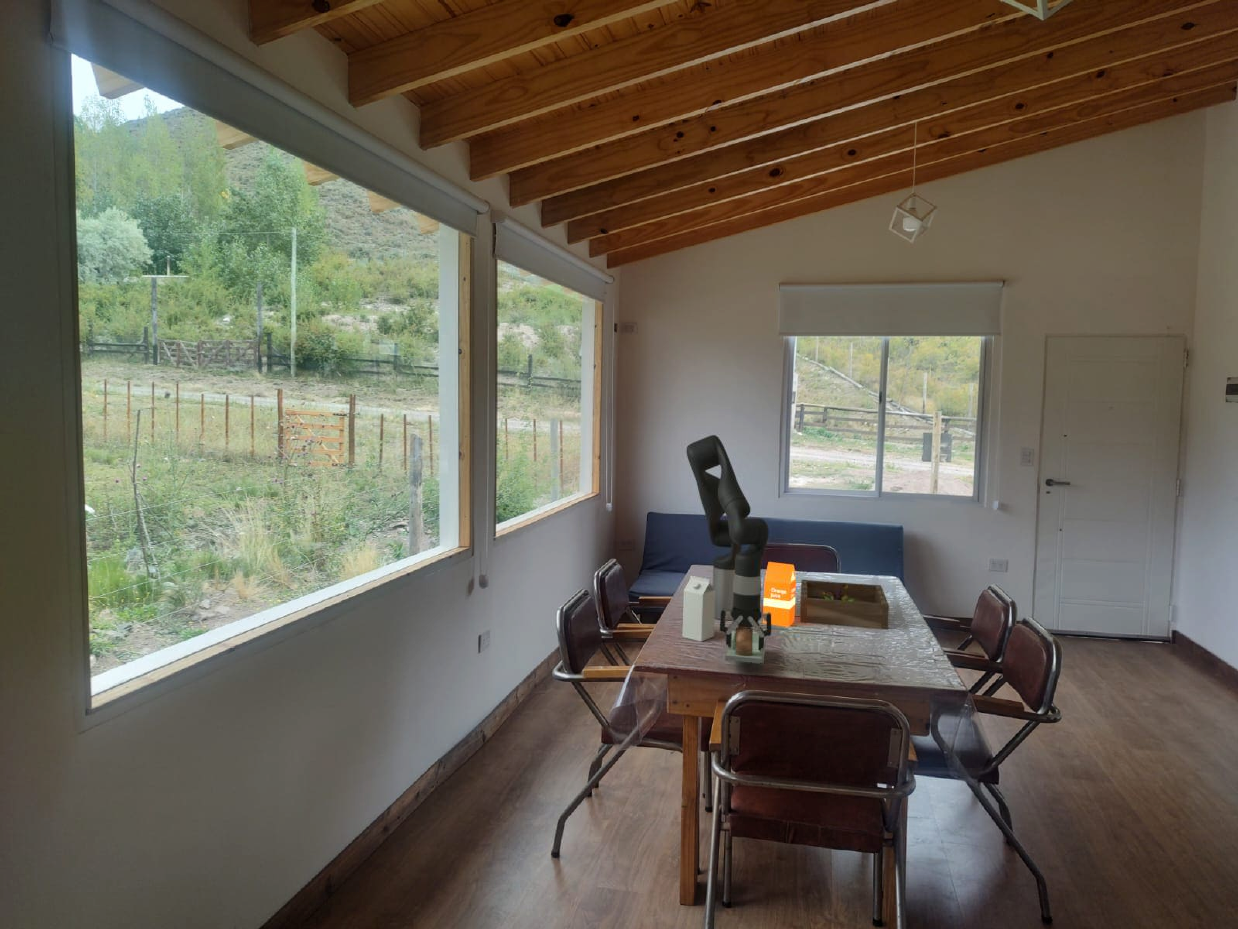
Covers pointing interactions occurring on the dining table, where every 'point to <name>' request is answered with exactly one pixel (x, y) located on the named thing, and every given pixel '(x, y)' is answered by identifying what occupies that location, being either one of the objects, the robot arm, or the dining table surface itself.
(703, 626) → the milk carton
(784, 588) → the orange juice
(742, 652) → the brown ridged cylinder
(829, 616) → the planter frame
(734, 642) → the crate
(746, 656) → the panel
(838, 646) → the dining table surface
